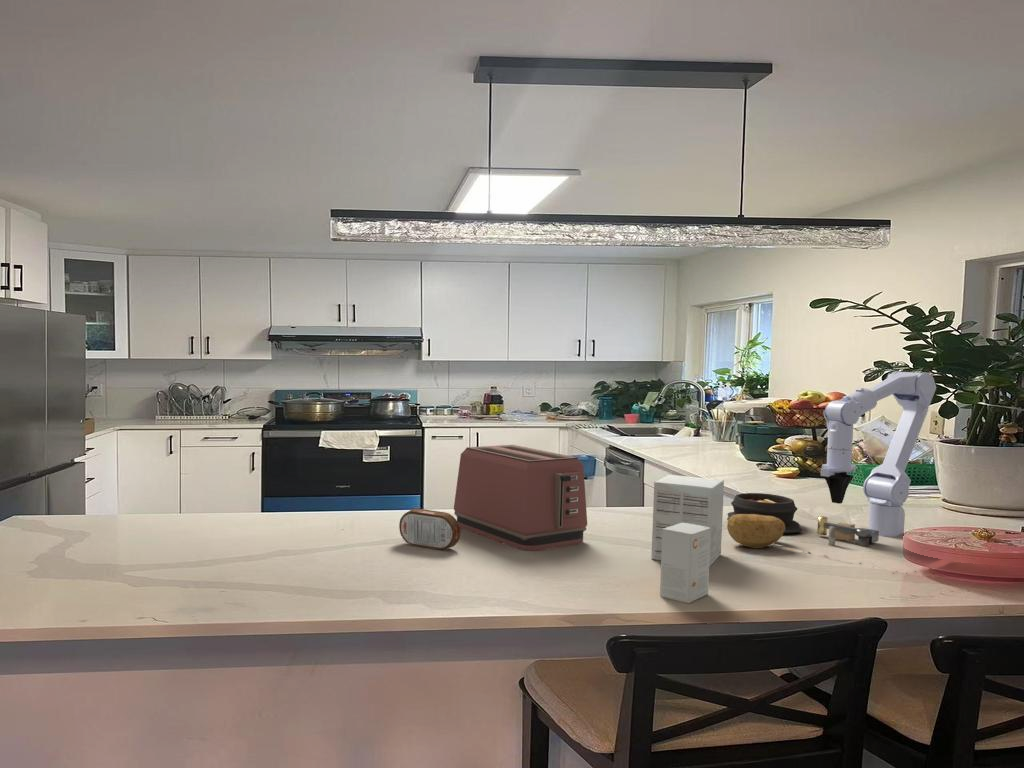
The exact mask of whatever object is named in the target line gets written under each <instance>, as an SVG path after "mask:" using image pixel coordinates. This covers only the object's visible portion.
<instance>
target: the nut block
mask: <svg viewBox="0 0 1024 768" xmlns="http://www.w3.org/2000/svg"><path fill="white" fill-rule="evenodd" d="M837 524H839V525H844V526H849V527H854V528H856V524H855V523H848V522H847V523H846V522H838V523H837ZM855 538H856V534H852V533H847V532H842V531H837V530H836V532H835V540H840V541H845V540H846V542H850V541H851V540H853V539H855Z"/></svg>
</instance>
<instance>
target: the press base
mask: <svg viewBox="0 0 1024 768" xmlns="http://www.w3.org/2000/svg"><path fill="white" fill-rule="evenodd" d="M828 530H829V531H828V546H830V547H831V546H832V547H835V546H836V539H835V532H836V527H834V526H830V527H829V529H828ZM844 541H846V540H844ZM846 542H847V541H846ZM849 542H851V543H855V544H856V543H857V546H859V547H866V548H868V547H869V545H870V543H869V537H861V536H857V538H856V537H855V539H853V540H851V541H849Z"/></svg>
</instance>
